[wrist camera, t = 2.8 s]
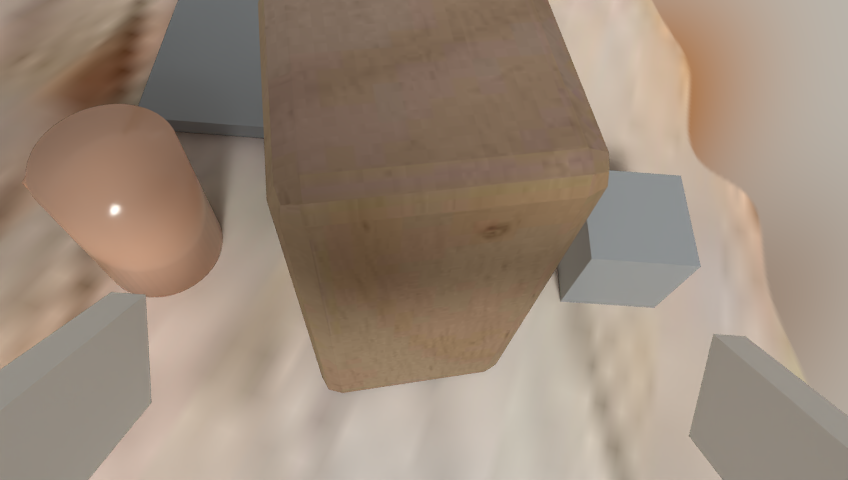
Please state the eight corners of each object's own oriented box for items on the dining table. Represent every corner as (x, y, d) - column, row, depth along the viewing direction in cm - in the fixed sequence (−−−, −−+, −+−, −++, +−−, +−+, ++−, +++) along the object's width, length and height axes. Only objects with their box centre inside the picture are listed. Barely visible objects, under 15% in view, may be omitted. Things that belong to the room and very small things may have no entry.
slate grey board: (140, 128, 40) (134, 116, 39) (194, -20, 47) (190, -33, 46) (397, 148, 40) (397, 137, 39) (409, -1, 48) (409, -14, 47)
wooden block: (498, 373, 33) (633, 173, 16) (325, 399, 32) (261, 211, 14) (463, 226, 38) (539, -55, 20) (312, 243, 36) (251, -44, 19)
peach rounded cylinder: (232, 202, 37) (194, 109, 29) (208, 301, 34) (157, 225, 26) (104, 193, 37) (30, 96, 29) (67, 291, 34) (-28, 212, 26)
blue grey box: (560, 302, 36) (591, 258, 30) (553, 220, 39) (581, 168, 33) (653, 308, 36) (700, 266, 31) (639, 226, 39) (680, 175, 34)
